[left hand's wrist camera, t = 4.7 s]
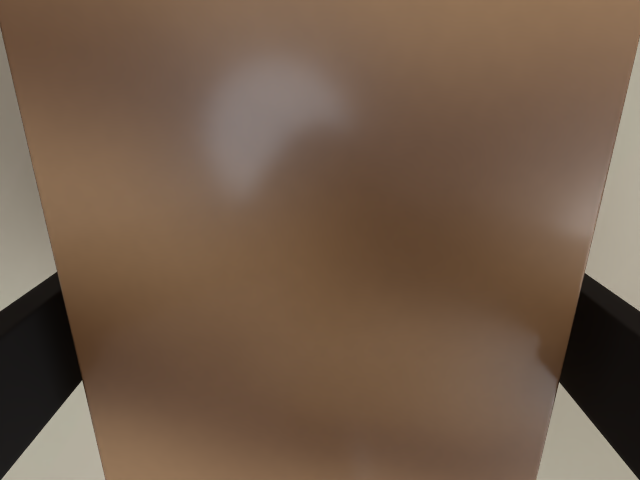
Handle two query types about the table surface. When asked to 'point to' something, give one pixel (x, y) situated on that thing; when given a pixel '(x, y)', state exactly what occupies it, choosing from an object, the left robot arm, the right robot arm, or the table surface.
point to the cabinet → (320, 223)
